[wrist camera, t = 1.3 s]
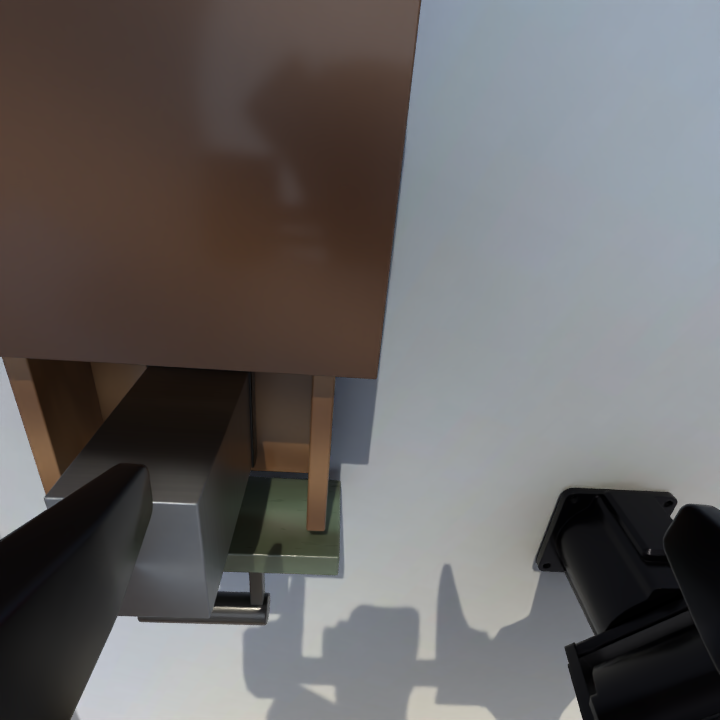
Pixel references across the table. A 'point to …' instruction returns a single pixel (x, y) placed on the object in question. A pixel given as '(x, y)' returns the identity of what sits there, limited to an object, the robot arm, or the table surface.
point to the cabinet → (201, 180)
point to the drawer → (262, 494)
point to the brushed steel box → (178, 480)
